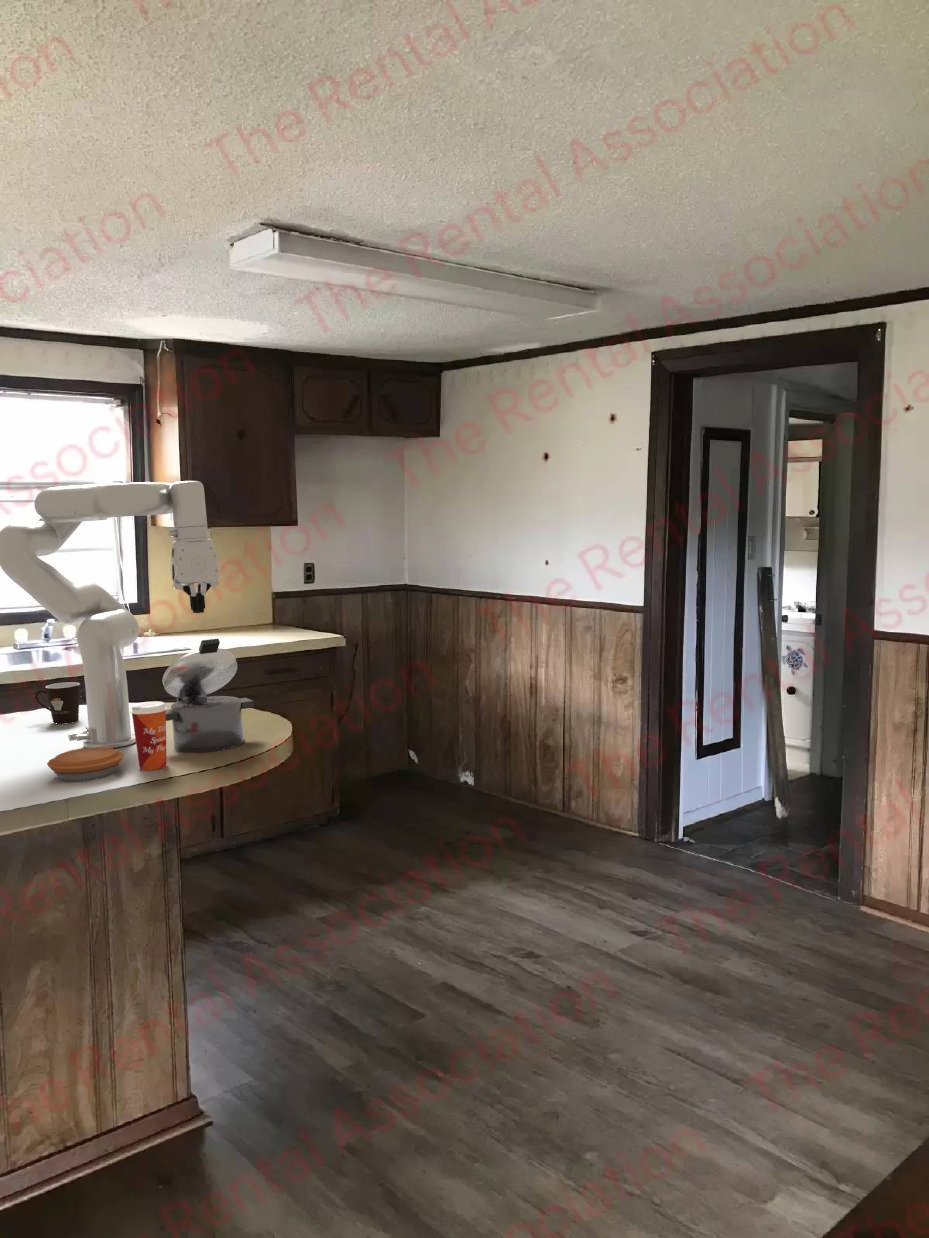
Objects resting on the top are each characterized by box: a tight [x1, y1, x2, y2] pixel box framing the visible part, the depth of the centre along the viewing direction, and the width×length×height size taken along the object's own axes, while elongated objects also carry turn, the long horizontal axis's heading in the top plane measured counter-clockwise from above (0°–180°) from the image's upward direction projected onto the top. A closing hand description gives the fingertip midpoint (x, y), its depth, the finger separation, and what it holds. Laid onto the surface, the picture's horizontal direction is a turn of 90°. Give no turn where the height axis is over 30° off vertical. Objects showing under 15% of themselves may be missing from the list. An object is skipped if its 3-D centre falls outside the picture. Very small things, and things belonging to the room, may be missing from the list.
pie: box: [46, 747, 125, 783], centre depth 217 cm, size 15×16×5 cm
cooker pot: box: [166, 695, 255, 754], centre depth 241 cm, size 22×19×10 cm
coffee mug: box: [34, 681, 81, 725], centre depth 273 cm, size 12×9×10 cm
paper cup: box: [129, 700, 168, 772], centre depth 220 cm, size 8×8×14 cm
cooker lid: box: [162, 638, 238, 700], centre depth 240 cm, size 18×21×3 cm
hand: (198, 612), depth 238 cm, fingers closed
